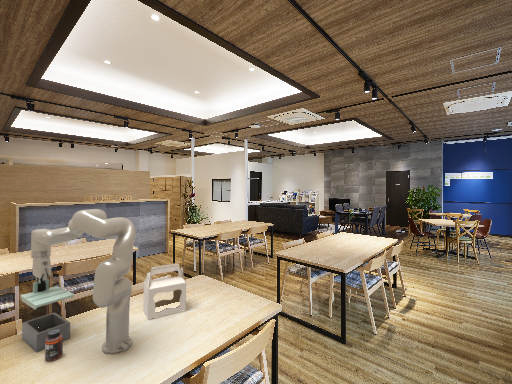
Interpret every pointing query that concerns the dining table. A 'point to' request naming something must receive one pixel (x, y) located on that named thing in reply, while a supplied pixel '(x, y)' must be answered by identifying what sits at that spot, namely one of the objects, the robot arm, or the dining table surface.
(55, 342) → the supplement bottle
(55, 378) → the dining table surface
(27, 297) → the lid
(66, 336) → the tub
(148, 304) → the gable box
